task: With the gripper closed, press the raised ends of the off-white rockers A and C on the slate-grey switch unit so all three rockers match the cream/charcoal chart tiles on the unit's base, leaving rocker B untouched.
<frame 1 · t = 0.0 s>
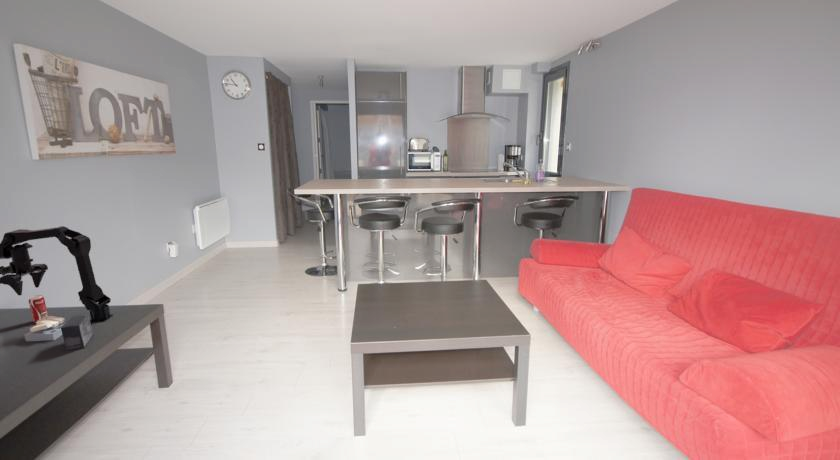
hand: (28, 291, 184), 15 cm above the table, fingers open, 9 cm apart
switch unit: (50, 334, 175), on the table
small box: (80, 343, 168), on the table
rocker C: (41, 327, 171), point 5 cm above the table, hinge at 13.0°
soda can: (41, 321, 188), on the table
rocker B: (47, 323, 174), point 5 cm above the table, hinge at -13.0°
rocker A: (54, 319, 177), point 5 cm above the table, hinge at -13.0°
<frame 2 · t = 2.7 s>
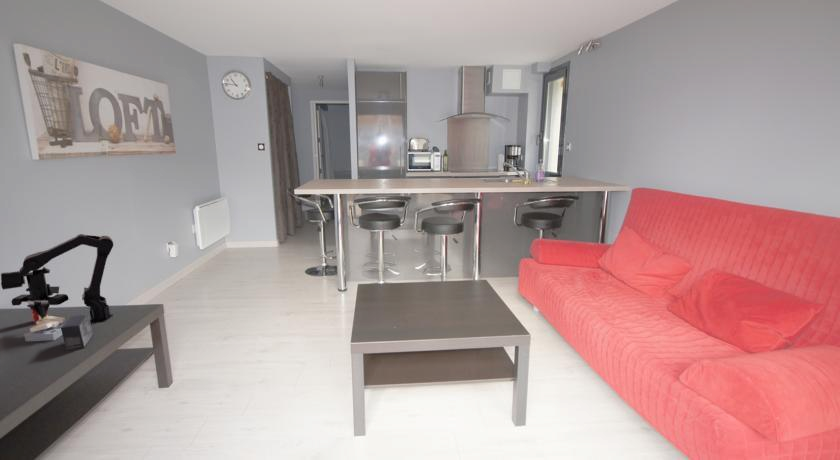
hand: (44, 317, 177), 6 cm above the table, fingers closed
rocker A: (54, 319, 177), point 5 cm above the table, hinge at -9.5°, touching gripper
everything else where it was.
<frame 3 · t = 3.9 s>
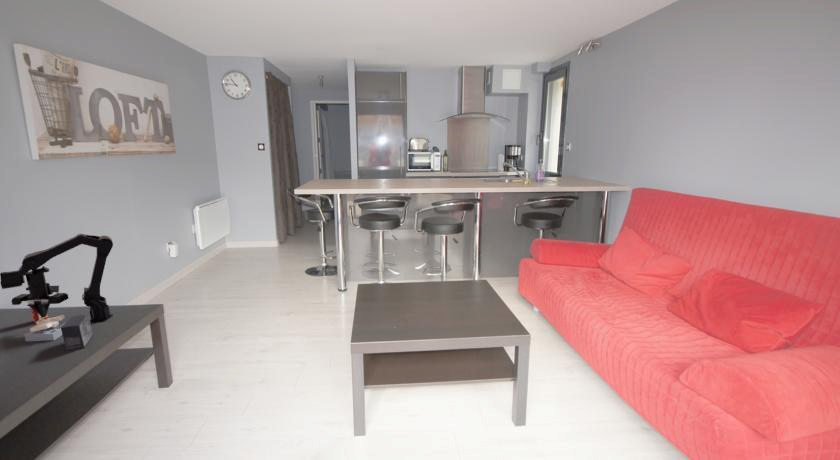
hand: (44, 317, 177), 7 cm above the table, fingers closed
rocker A: (53, 319, 177), point 5 cm above the table, hinge at 13.8°
everything else where it was.
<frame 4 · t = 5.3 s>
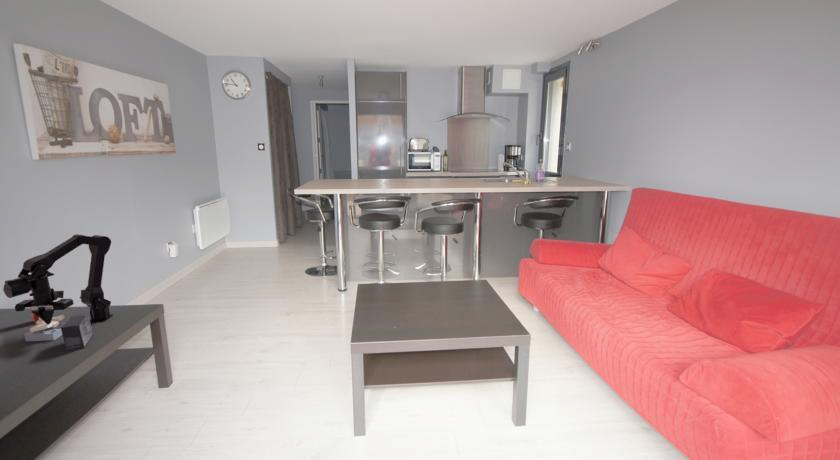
hand: (48, 323, 171), 7 cm above the table, fingers closed
rocker C: (41, 327, 171), point 5 cm above the table, hinge at 13.0°, touching gripper
rocker A: (53, 319, 177), point 5 cm above the table, hinge at 14.1°
everything else where it was.
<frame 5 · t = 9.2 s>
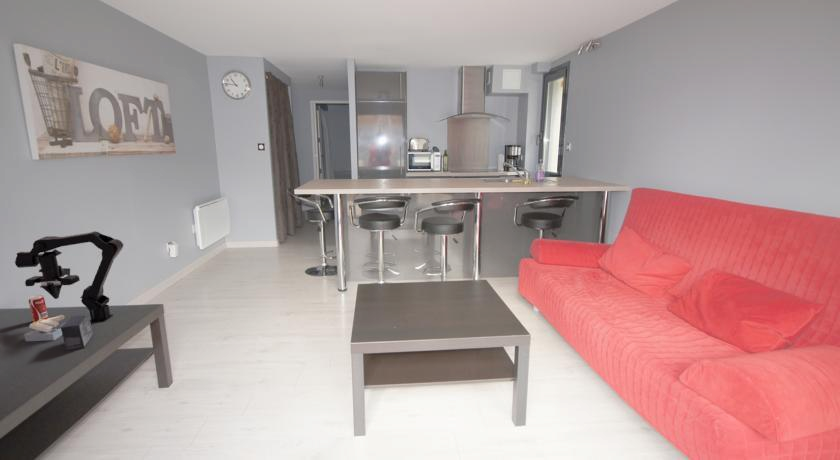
hand: (56, 298, 183), 12 cm above the table, fingers closed
rocker C: (41, 327, 171), point 5 cm above the table, hinge at -22.1°
everything else where it was.
at the end: rocker A at +14° (first picture: -13°); rocker C at -22° (first picture: +13°); rocker B at -13° (first picture: -13°) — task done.
